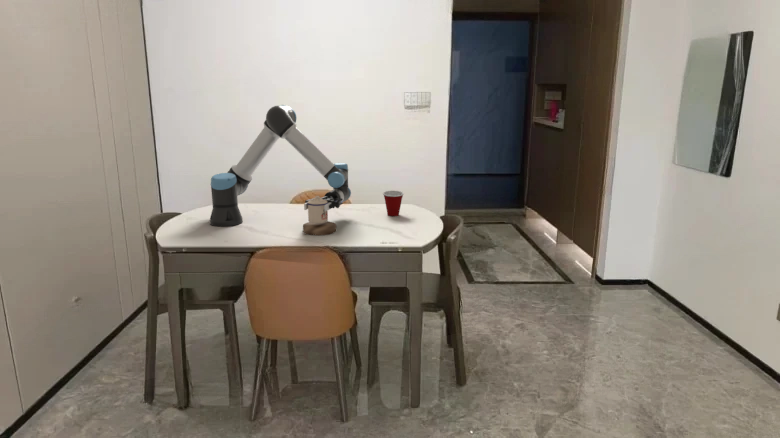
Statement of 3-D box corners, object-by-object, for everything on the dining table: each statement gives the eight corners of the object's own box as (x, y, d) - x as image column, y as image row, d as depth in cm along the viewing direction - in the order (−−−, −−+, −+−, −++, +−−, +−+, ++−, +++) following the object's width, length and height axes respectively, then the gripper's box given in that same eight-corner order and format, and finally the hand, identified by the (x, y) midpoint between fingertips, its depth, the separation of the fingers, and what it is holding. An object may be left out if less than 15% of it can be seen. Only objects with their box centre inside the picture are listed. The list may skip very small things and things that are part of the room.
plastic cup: (382, 217, 273) (382, 194, 271) (382, 213, 284) (382, 190, 281) (404, 217, 274) (404, 194, 271) (403, 212, 284) (403, 190, 281)
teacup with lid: (325, 224, 239) (324, 198, 236) (305, 223, 240) (304, 197, 238) (331, 218, 251) (331, 193, 248) (312, 217, 252) (312, 192, 249)
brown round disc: (297, 234, 241) (297, 227, 241) (311, 226, 256) (311, 220, 255) (328, 236, 238) (328, 229, 237) (341, 228, 252) (340, 222, 251)
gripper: (355, 207, 259) (338, 217, 238) (313, 204, 264) (292, 214, 243) (354, 191, 257) (337, 200, 236) (312, 189, 263) (292, 197, 241)
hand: (315, 207), depth 240 cm, fingers closed on teacup with lid, 9 cm apart
